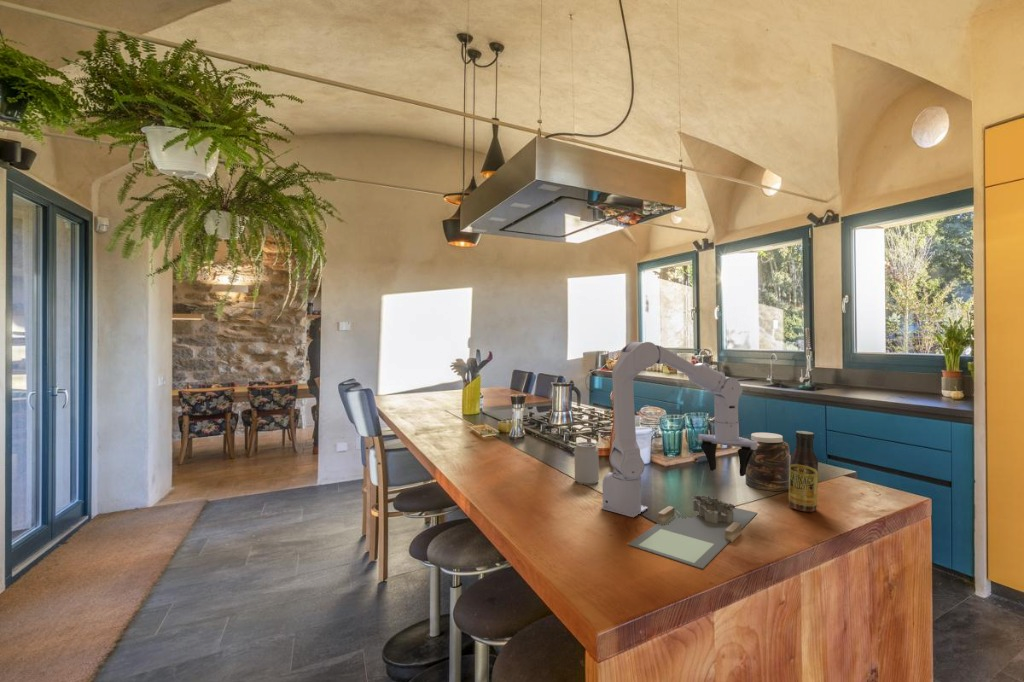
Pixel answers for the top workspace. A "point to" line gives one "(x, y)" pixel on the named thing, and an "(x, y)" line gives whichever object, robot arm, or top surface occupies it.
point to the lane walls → (730, 532)
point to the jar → (769, 463)
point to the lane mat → (690, 538)
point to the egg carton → (707, 509)
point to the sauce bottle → (803, 474)
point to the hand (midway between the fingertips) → (727, 472)
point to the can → (586, 463)
